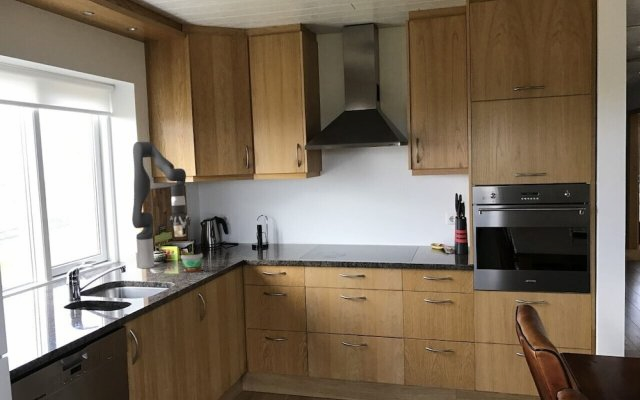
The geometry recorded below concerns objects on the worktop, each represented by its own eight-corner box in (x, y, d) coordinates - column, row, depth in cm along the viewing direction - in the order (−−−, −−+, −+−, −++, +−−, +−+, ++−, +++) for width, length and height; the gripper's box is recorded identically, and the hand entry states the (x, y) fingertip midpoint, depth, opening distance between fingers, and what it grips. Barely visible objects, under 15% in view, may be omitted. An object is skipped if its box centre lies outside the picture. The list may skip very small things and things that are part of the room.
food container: (181, 274, 293) (180, 256, 292) (181, 271, 299) (180, 254, 298) (204, 272, 296) (203, 254, 296) (203, 269, 302) (202, 252, 301)
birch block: (174, 236, 293) (174, 226, 292) (178, 235, 297) (178, 224, 297) (182, 236, 292) (181, 225, 291) (186, 235, 296) (185, 224, 296)
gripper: (163, 205, 291) (165, 235, 293) (186, 204, 288) (188, 235, 289) (170, 204, 299) (172, 233, 300) (193, 203, 295) (195, 233, 296)
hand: (180, 234), depth 294 cm, fingers closed on birch block, 4 cm apart
